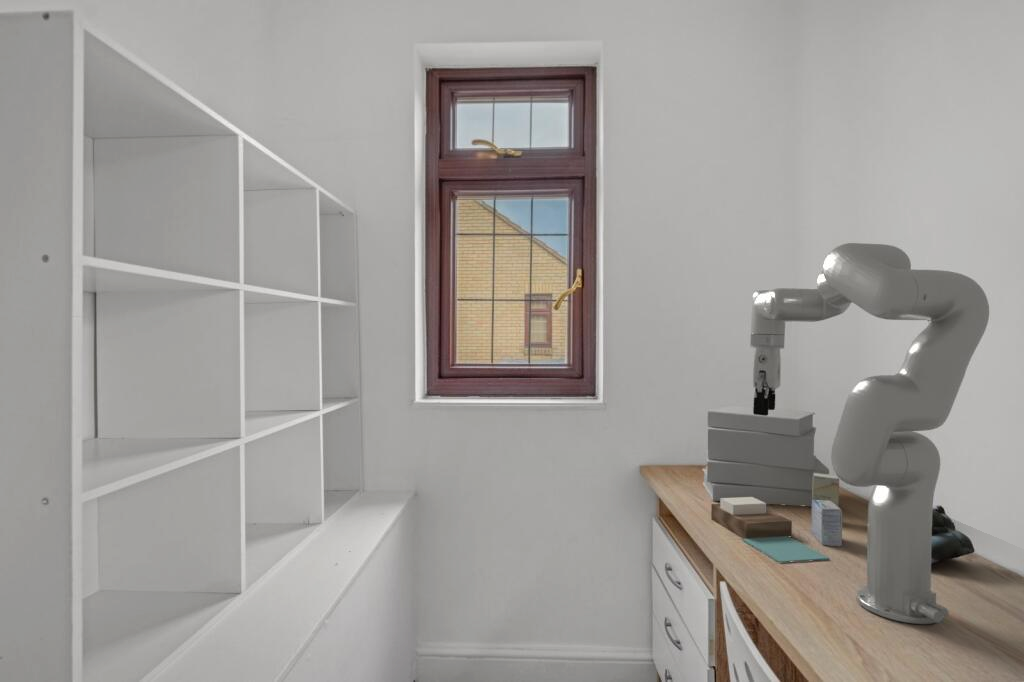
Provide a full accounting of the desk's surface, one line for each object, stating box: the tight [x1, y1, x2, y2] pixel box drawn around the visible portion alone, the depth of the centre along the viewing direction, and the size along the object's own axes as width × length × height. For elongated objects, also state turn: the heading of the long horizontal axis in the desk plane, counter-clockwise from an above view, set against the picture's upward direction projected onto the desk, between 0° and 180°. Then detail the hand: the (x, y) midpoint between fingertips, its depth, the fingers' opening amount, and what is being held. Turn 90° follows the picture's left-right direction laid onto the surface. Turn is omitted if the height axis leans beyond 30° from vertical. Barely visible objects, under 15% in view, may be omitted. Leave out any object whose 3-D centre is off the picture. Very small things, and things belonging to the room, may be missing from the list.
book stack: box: [701, 405, 830, 506], centre depth 178 cm, size 30×35×26 cm
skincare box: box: [811, 473, 840, 521], centre depth 153 cm, size 6×4×12 cm
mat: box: [741, 536, 830, 564], centre depth 132 cm, size 14×12×1 cm
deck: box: [710, 503, 793, 539], centre depth 147 cm, size 16×12×4 cm
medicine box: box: [811, 500, 843, 547], centre depth 138 cm, size 8×4×9 cm, turn 168°
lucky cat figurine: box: [931, 504, 975, 564], centre depth 128 cm, size 15×12×14 cm
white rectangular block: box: [719, 497, 767, 515], centre depth 148 cm, size 6×9×2 cm, turn 100°
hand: (764, 412), depth 141 cm, fingers open, 9 cm apart
